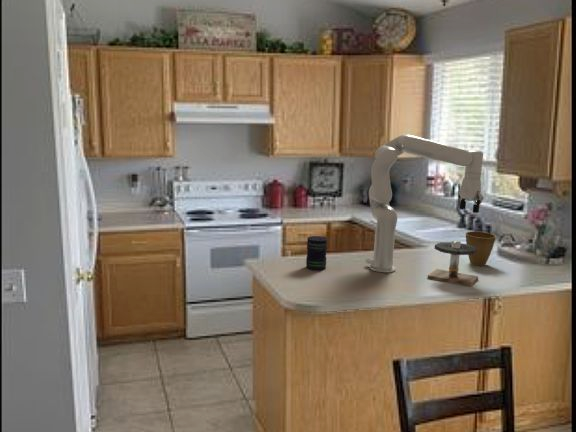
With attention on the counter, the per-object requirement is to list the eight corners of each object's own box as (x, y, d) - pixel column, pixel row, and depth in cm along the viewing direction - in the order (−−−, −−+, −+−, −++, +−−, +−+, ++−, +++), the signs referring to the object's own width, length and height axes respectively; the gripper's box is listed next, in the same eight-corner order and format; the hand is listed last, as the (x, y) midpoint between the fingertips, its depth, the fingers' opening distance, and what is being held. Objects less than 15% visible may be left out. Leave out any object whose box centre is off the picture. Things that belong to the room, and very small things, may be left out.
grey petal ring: (430, 250, 261) (430, 247, 260) (442, 243, 276) (442, 240, 276) (470, 256, 252) (470, 253, 251) (479, 249, 267) (480, 246, 266)
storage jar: (302, 266, 278) (303, 236, 275) (319, 264, 282) (320, 235, 280) (312, 271, 269) (313, 241, 267) (329, 269, 274) (331, 239, 271)
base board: (427, 278, 266) (427, 275, 265) (436, 271, 277) (436, 268, 277) (470, 286, 255) (470, 283, 255) (478, 279, 267) (478, 276, 267)
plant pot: (457, 261, 300) (459, 231, 297) (480, 260, 304) (483, 231, 301) (474, 268, 286) (477, 238, 283) (498, 267, 290) (502, 237, 288)
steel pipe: (447, 276, 265) (450, 241, 262) (449, 273, 269) (452, 240, 266) (456, 277, 263) (459, 243, 260) (459, 275, 267) (462, 241, 264)
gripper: (454, 174, 280) (451, 207, 283) (478, 178, 265) (474, 214, 268) (466, 174, 283) (463, 207, 286) (491, 178, 267) (487, 213, 270)
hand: (468, 210), depth 277 cm, fingers open, 9 cm apart
